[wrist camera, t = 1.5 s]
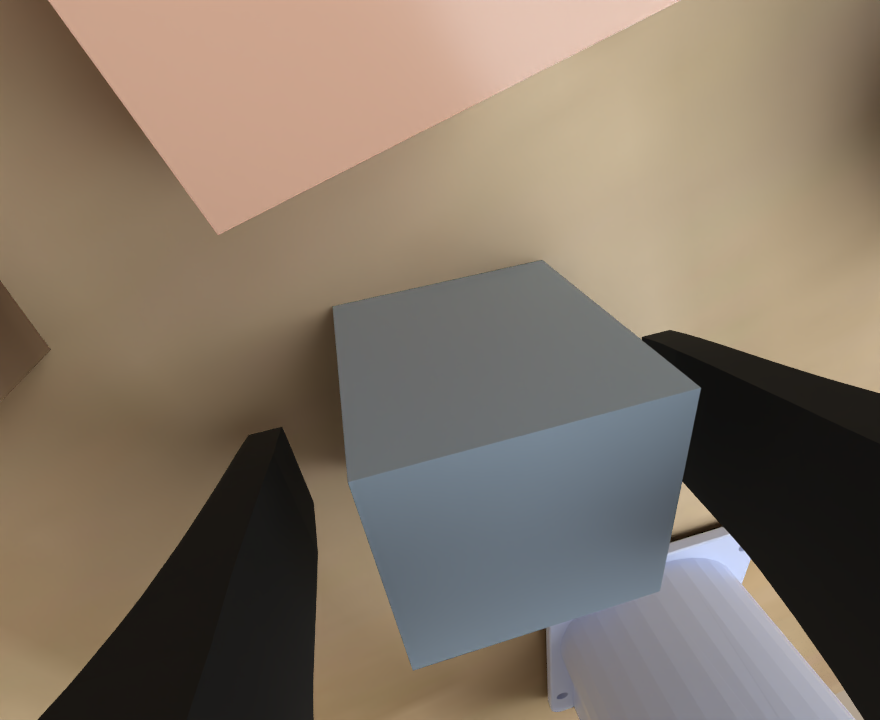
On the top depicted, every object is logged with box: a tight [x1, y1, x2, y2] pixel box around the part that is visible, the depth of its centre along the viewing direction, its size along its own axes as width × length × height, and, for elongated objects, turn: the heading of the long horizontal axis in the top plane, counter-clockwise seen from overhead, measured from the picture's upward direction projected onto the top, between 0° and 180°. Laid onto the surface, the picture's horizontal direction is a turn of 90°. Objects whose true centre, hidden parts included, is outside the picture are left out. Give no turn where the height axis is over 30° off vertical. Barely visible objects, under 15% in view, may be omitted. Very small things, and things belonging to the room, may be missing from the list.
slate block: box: [333, 260, 701, 670], centre depth 9 cm, size 4×4×5 cm
